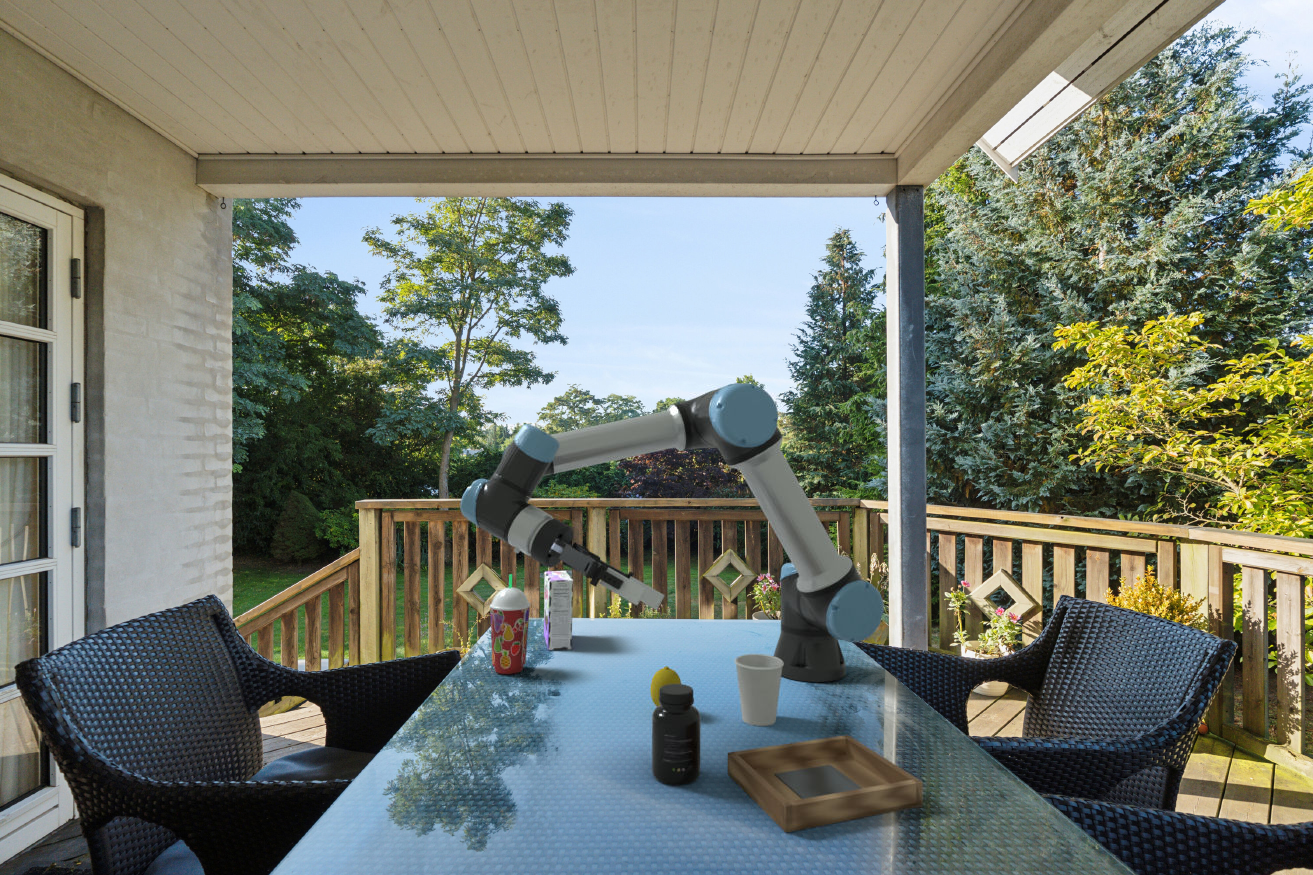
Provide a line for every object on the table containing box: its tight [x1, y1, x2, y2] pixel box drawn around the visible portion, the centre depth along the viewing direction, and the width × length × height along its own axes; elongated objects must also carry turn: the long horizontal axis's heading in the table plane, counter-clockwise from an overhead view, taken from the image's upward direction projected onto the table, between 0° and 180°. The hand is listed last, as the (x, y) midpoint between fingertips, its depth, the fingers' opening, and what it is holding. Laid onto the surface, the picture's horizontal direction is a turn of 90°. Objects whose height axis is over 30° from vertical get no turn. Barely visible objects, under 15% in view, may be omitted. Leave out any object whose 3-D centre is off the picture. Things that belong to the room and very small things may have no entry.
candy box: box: [543, 570, 574, 651], centre depth 165 cm, size 14×6×16 cm, turn 14°
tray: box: [727, 734, 924, 834], centre depth 91 cm, size 20×16×3 cm
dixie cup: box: [734, 653, 784, 727], centre depth 116 cm, size 8×8×10 cm
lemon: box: [649, 665, 682, 708], centre depth 119 cm, size 6×6×8 cm
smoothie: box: [489, 573, 531, 675], centre depth 143 cm, size 8×8×20 cm
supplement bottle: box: [651, 683, 701, 786], centre depth 95 cm, size 7×7×12 cm
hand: (651, 600), depth 105 cm, fingers open, 13 cm apart
